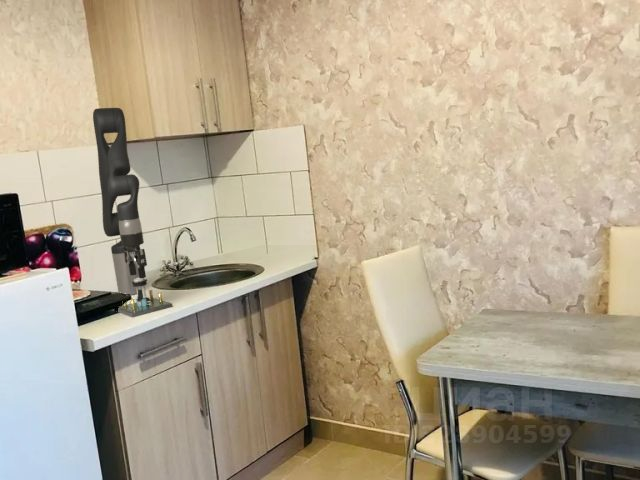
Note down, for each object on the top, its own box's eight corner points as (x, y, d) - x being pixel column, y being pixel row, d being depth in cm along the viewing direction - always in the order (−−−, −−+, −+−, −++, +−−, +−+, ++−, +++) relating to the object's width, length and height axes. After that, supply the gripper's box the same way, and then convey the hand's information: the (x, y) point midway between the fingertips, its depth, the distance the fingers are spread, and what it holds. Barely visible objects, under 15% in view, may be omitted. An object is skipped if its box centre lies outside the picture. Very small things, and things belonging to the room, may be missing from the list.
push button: (156, 303, 233) (152, 276, 232) (145, 307, 229) (140, 280, 227) (143, 303, 237) (139, 276, 235) (132, 307, 232) (128, 279, 231)
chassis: (115, 311, 235) (113, 297, 235) (154, 301, 244) (152, 287, 243) (132, 317, 223) (129, 302, 222) (172, 306, 232) (170, 292, 231)
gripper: (113, 232, 232) (120, 276, 235) (128, 235, 221) (135, 281, 224) (133, 228, 237) (140, 272, 240) (149, 231, 226) (156, 276, 228)
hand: (138, 276), depth 232 cm, fingers open, 8 cm apart
